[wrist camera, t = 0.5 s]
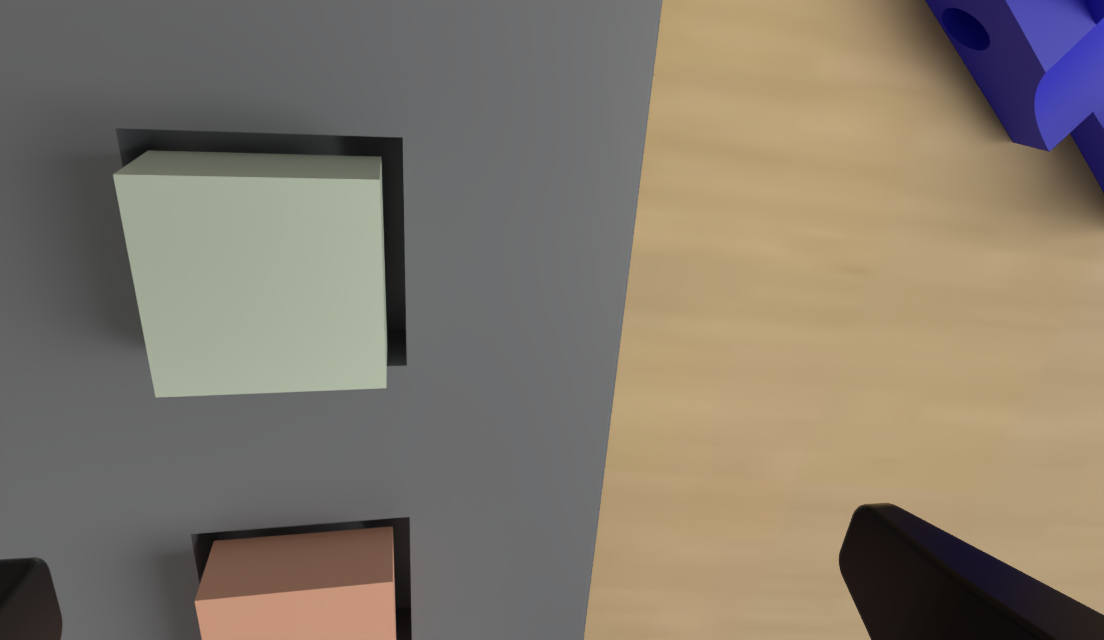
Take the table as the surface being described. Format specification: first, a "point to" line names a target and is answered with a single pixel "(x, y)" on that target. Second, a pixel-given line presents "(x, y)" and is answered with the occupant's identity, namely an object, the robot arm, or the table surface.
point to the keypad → (410, 284)
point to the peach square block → (300, 587)
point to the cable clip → (1036, 67)
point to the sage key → (257, 270)
